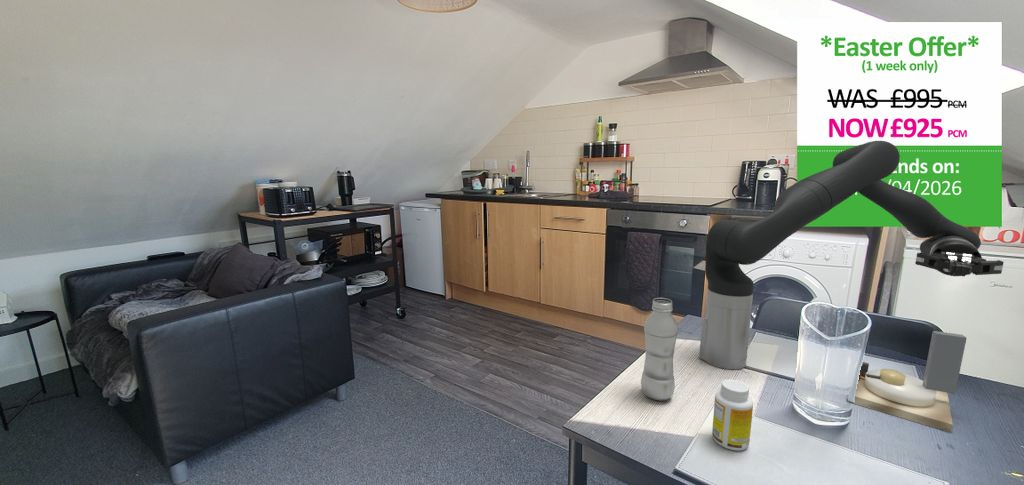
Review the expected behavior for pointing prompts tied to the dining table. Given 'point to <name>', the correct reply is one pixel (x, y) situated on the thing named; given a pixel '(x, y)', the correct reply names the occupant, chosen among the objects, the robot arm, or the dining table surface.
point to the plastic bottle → (659, 351)
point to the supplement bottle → (732, 415)
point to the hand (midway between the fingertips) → (961, 270)
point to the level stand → (906, 406)
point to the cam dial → (937, 375)
